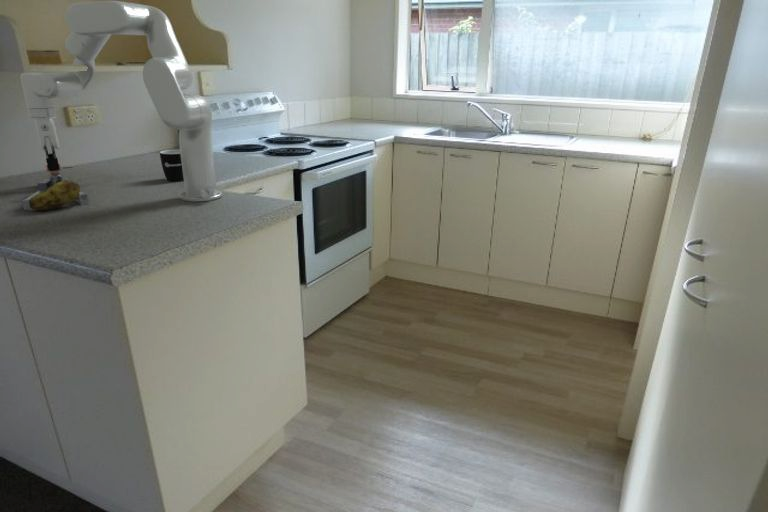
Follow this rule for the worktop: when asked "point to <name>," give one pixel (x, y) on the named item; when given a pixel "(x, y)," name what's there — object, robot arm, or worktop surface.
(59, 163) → the tab
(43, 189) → the tongs fixed
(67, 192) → the potato
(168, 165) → the mug
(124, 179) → the worktop surface
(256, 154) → the worktop surface
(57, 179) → the tongs jaw
